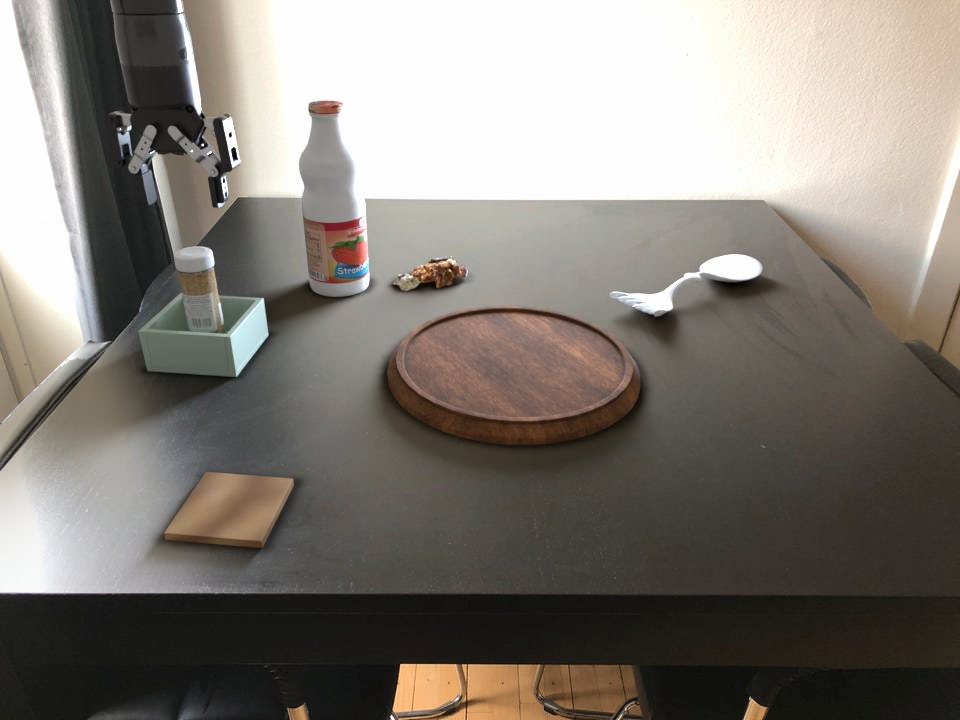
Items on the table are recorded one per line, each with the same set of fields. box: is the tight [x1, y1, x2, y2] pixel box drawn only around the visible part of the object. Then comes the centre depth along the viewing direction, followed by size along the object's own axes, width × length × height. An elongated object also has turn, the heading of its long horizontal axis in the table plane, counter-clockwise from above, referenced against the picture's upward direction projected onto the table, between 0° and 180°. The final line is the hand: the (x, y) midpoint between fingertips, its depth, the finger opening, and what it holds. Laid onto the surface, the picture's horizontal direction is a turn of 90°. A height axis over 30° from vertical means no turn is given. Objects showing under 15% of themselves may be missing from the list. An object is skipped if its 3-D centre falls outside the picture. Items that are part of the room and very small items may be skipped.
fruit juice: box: [298, 99, 370, 298], centre depth 111 cm, size 9×9×28 cm
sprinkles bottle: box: [173, 245, 225, 334], centre depth 94 cm, size 5×5×14 cm
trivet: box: [163, 471, 295, 549], centre depth 70 cm, size 9×9×1 cm
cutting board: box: [386, 305, 642, 446], centre depth 94 cm, size 32×32×3 cm
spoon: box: [609, 254, 764, 317], centre depth 117 cm, size 9×32×4 cm, turn 131°
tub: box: [137, 292, 269, 378], centre depth 96 cm, size 12×12×6 cm
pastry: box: [393, 255, 469, 292], centre depth 119 cm, size 7×12×4 cm, turn 128°
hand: (184, 204), depth 88 cm, fingers open, 8 cm apart
